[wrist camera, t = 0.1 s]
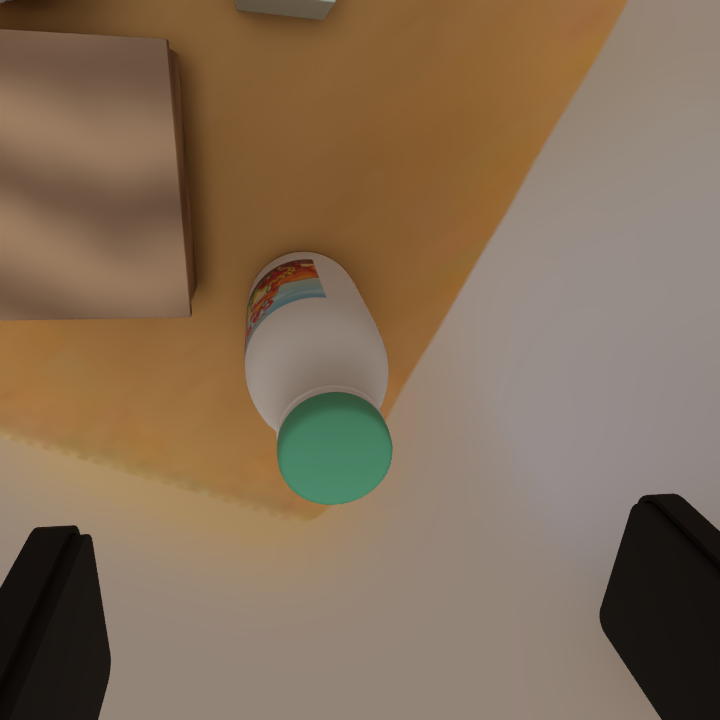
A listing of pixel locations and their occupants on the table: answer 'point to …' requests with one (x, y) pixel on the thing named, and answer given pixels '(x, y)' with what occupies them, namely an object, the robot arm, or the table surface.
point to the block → (288, 7)
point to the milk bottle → (318, 377)
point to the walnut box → (92, 179)
